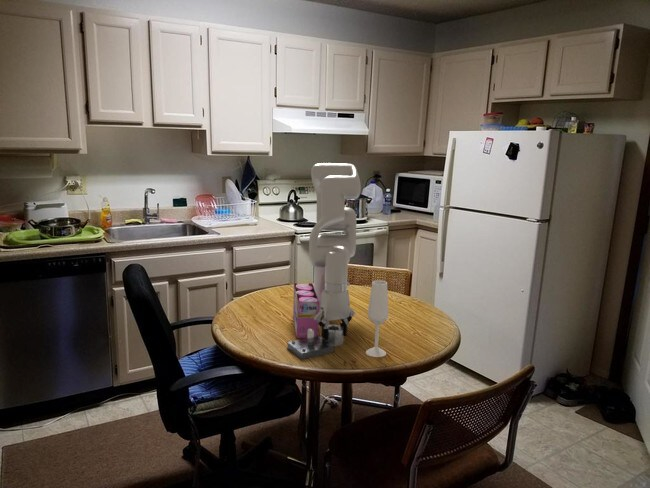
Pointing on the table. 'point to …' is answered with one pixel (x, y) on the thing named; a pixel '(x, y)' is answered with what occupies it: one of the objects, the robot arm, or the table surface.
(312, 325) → the gum box
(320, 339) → the shaft block
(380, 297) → the champagne flute
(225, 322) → the table surface
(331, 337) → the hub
